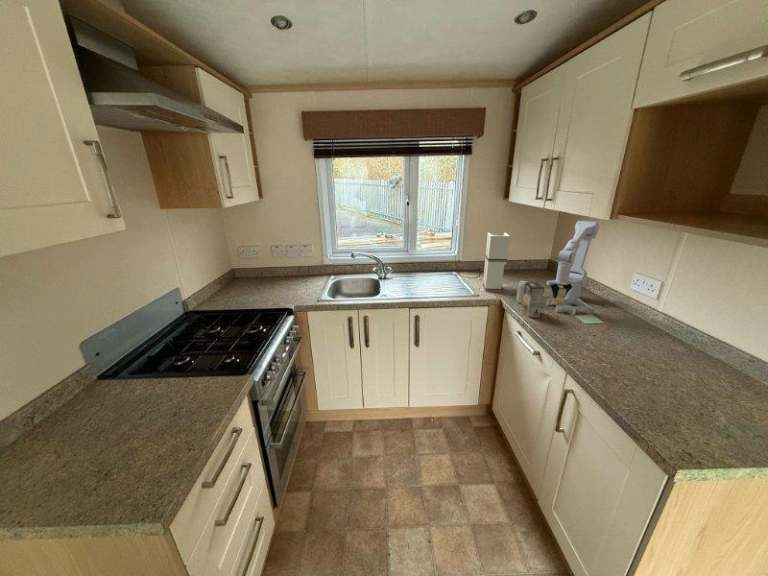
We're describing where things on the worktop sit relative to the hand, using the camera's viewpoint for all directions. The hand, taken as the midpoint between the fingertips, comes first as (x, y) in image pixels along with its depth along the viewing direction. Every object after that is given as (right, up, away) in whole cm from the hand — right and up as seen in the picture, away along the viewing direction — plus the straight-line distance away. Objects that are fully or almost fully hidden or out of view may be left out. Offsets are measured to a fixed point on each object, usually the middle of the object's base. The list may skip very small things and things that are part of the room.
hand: (558, 297), depth 162 cm
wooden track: (+5, -6, 0) cm, 8 cm away
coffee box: (-17, -8, -3) cm, 19 cm away
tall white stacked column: (-24, +4, +33) cm, 41 cm away
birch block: (0, -3, +1) cm, 4 cm away
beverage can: (-15, -3, +11) cm, 19 cm away
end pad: (+8, -11, -12) cm, 18 cm away
